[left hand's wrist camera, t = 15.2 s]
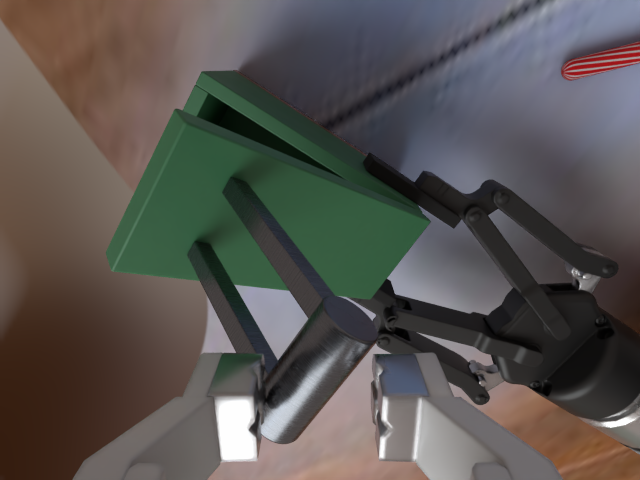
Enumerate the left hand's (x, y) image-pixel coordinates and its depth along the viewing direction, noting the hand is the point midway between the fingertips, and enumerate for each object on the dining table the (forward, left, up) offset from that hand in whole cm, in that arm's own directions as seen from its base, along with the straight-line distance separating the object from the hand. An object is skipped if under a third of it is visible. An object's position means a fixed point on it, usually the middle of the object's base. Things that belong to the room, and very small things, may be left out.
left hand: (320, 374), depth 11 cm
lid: (+1, -1, -10) cm, 10 cm away
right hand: (-1, +1, -17) cm, 17 cm away
